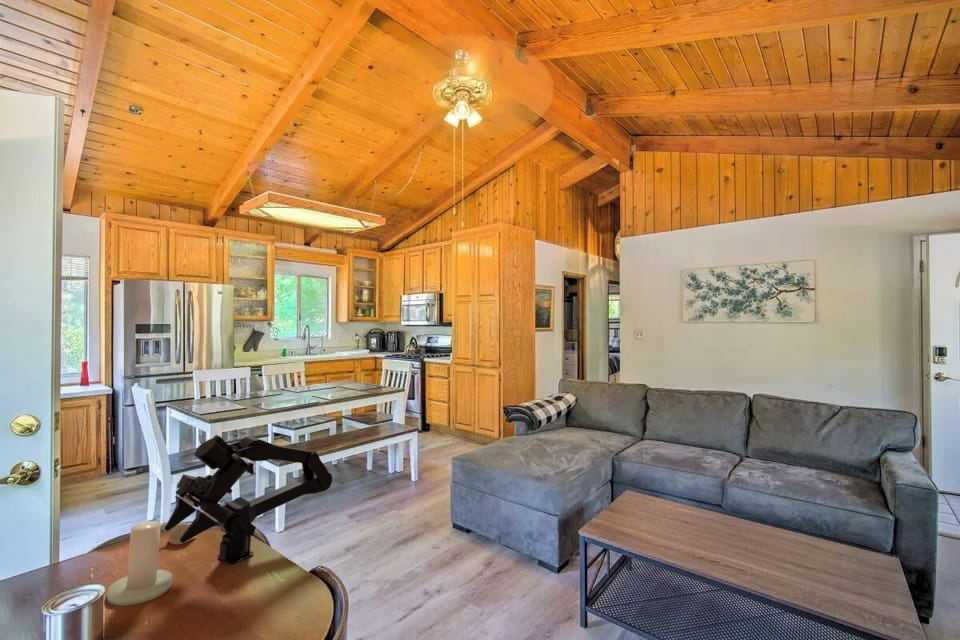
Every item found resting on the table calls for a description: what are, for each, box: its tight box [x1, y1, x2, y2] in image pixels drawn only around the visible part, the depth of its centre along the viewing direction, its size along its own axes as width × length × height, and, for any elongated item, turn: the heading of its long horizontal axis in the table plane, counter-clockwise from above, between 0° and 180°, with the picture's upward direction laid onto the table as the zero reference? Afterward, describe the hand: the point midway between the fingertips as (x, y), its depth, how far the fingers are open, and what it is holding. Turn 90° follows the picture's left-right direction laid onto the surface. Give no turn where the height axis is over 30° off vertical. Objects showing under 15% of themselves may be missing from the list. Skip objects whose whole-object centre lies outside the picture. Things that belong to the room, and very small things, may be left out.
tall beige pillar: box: [126, 520, 162, 590], centre depth 104 cm, size 6×6×13 cm
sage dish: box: [106, 569, 173, 607], centre depth 103 cm, size 12×12×2 cm
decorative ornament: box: [160, 522, 197, 545], centre depth 127 cm, size 4×8×5 cm, turn 99°
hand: (173, 535), depth 108 cm, fingers open, 9 cm apart
